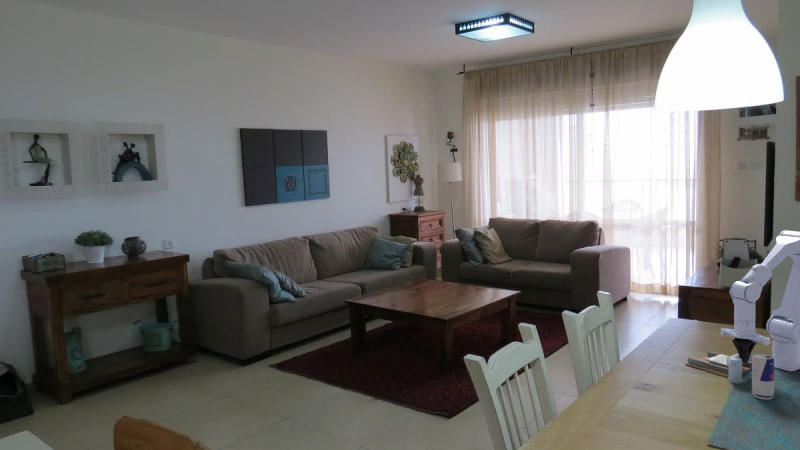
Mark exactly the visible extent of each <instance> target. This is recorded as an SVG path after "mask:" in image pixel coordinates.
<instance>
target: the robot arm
mask: <svg viewBox="0 0 800 450" xmlns="http://www.w3.org/2000/svg"><path fill="white" fill-rule="evenodd" d="M788 256H789V257H791V259H792V261H793V264H792V268H791V271H790V274H789V277H788V281H787V285H786V288H785V290H784V291H785V292H784V294H783V298H782V302H781V306H780V307H779V308H778V309H775V310H773V311H772V312H771V316H770V318H768V320H767V321H766V325H765V326H766V331H767V332H768V334H769V335H770V337H768V336H764V335H761V334H758V333H756V301H758V300H759V299H760V297H761V293H762V291H763V287H764V286H765V285H766V284H767V283H768V282H769V281H770V280H771V278H772V277H773V270H774V269H775V268H776V267H778V266H779V264H780V263H782V262H783V260H785V259H786V258H787V257H788ZM729 295H730V296H731V298H732V303H733V307H734V308H733V309H734V311H733V312H734V313H733V321H734V322H733V325H734V326H733V327H734V329H732V328H728V327H727V328H726V327H722V328H720V336H727V337H732V338H734V339H732V344H733V345H734V347H735V349H736V351H737V354H739V357H740V359H742V362H743V363H746V362H750V361H749V360H750V356H751V354H752V352H753V350H754V348H755V346H756V345H757V344H761V345H764V346H769V345H771V338H772V348H771V349H772V353H771V354H772V356H773V358H774V368H776V369H779V370H784V371H787V372H792V371H793V372H795V371H797V370H800V231H796V230H788V229H784V230H782V231H780V233H779V234H778V236H776V238H775V244H774V246H773V248H772V249H771V250H770V252H769V253H768V255H767V256H766V257H765V258H764V259H763V261H762V262H761V263H757V264H755V265H752V267H751V269H749V271H748V272H747V273H746V274H745V276H744V277H743V278H742V279H741V280H738V281H735V282H733V283H732V284H731V287H730V289H729Z"/></svg>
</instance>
